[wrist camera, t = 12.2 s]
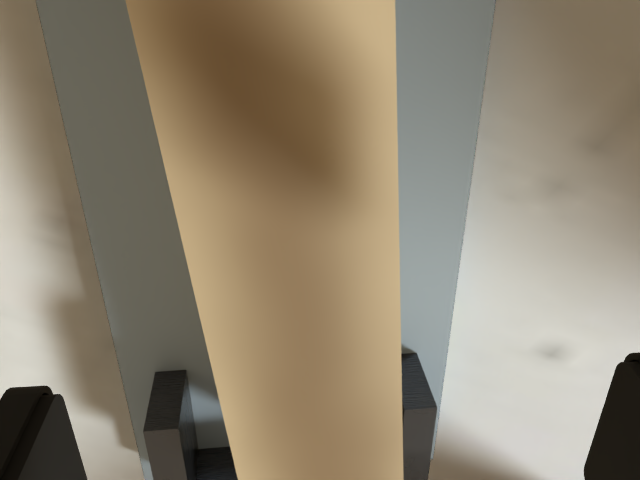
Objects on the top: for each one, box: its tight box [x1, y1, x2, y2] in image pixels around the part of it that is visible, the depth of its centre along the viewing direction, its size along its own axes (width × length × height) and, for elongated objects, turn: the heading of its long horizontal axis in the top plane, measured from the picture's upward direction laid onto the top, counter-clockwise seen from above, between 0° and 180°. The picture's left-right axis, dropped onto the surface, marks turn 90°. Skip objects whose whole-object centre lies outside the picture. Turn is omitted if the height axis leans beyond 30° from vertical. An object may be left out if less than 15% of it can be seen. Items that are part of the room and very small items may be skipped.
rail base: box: [36, 0, 496, 480], centre depth 18 cm, size 13×29×4 cm, turn 0°
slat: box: [125, 0, 403, 480], centre depth 16 cm, size 5×22×6 cm, turn 5°
